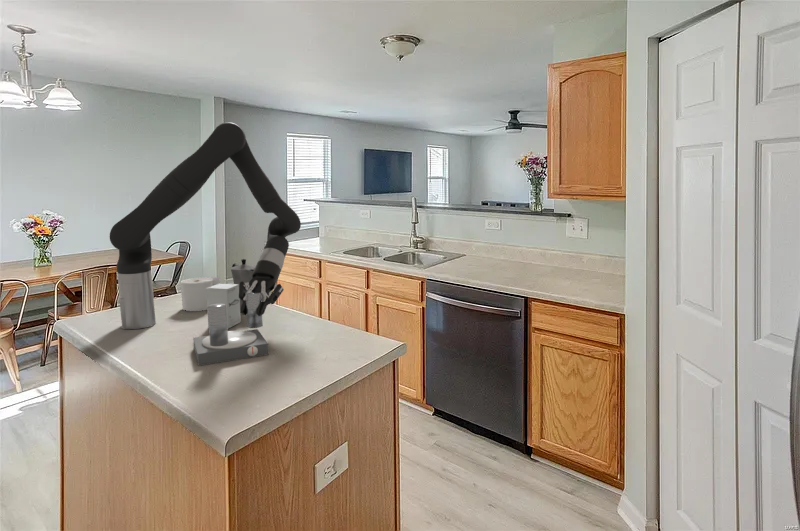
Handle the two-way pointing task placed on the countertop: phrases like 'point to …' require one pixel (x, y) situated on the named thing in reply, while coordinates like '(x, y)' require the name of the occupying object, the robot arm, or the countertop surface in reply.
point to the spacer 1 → (217, 324)
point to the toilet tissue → (196, 292)
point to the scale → (231, 347)
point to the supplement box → (226, 301)
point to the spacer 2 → (253, 309)
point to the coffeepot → (242, 274)
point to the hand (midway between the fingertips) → (251, 314)
